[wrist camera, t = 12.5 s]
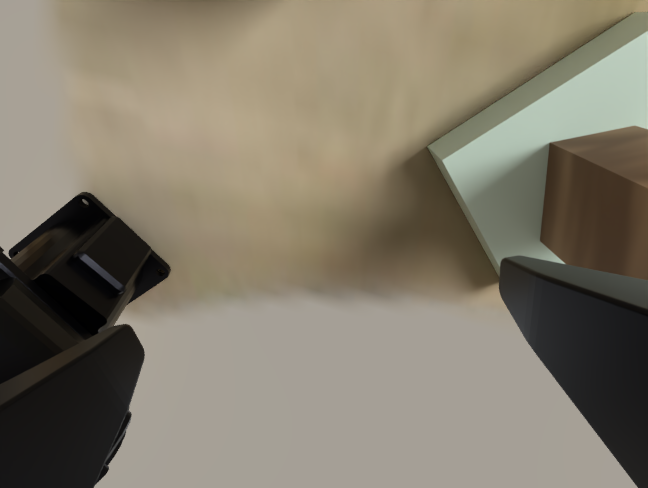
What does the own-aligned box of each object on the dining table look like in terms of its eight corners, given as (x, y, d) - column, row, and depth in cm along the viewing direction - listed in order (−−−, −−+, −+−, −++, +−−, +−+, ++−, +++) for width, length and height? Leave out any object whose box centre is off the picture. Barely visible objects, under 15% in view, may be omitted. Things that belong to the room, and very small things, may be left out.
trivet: (501, 281, 26) (520, 305, 23) (427, 146, 21) (441, 160, 19) (674, 190, 23) (714, 208, 21) (634, 12, 18) (680, 10, 16)
